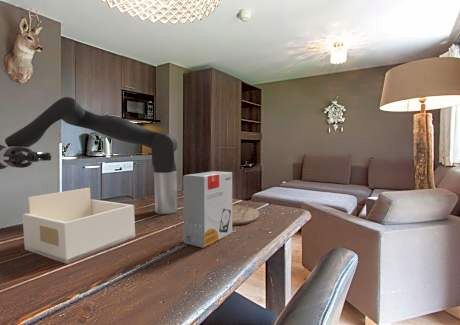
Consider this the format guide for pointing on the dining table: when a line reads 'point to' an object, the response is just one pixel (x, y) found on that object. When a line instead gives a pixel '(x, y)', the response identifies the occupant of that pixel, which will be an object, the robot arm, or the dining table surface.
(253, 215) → the trivet
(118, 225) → the carton
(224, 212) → the hard drive box
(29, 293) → the dining table surface
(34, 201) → the flap
